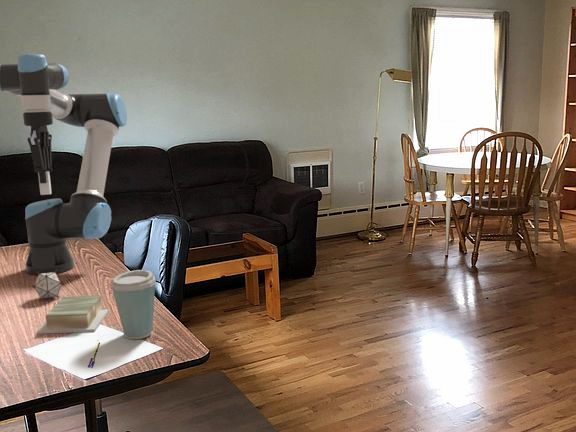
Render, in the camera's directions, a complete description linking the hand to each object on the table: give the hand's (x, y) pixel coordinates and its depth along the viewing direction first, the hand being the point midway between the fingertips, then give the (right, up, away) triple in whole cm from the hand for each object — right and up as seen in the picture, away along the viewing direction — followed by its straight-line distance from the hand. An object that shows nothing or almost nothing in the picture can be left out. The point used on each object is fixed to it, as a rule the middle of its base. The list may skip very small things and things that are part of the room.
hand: (46, 194), depth 179 cm
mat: (+15, -34, -19) cm, 41 cm away
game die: (+1, -30, 0) cm, 30 cm away
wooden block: (+14, -30, -12) cm, 35 cm away
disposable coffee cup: (+33, -35, -28) cm, 56 cm away
